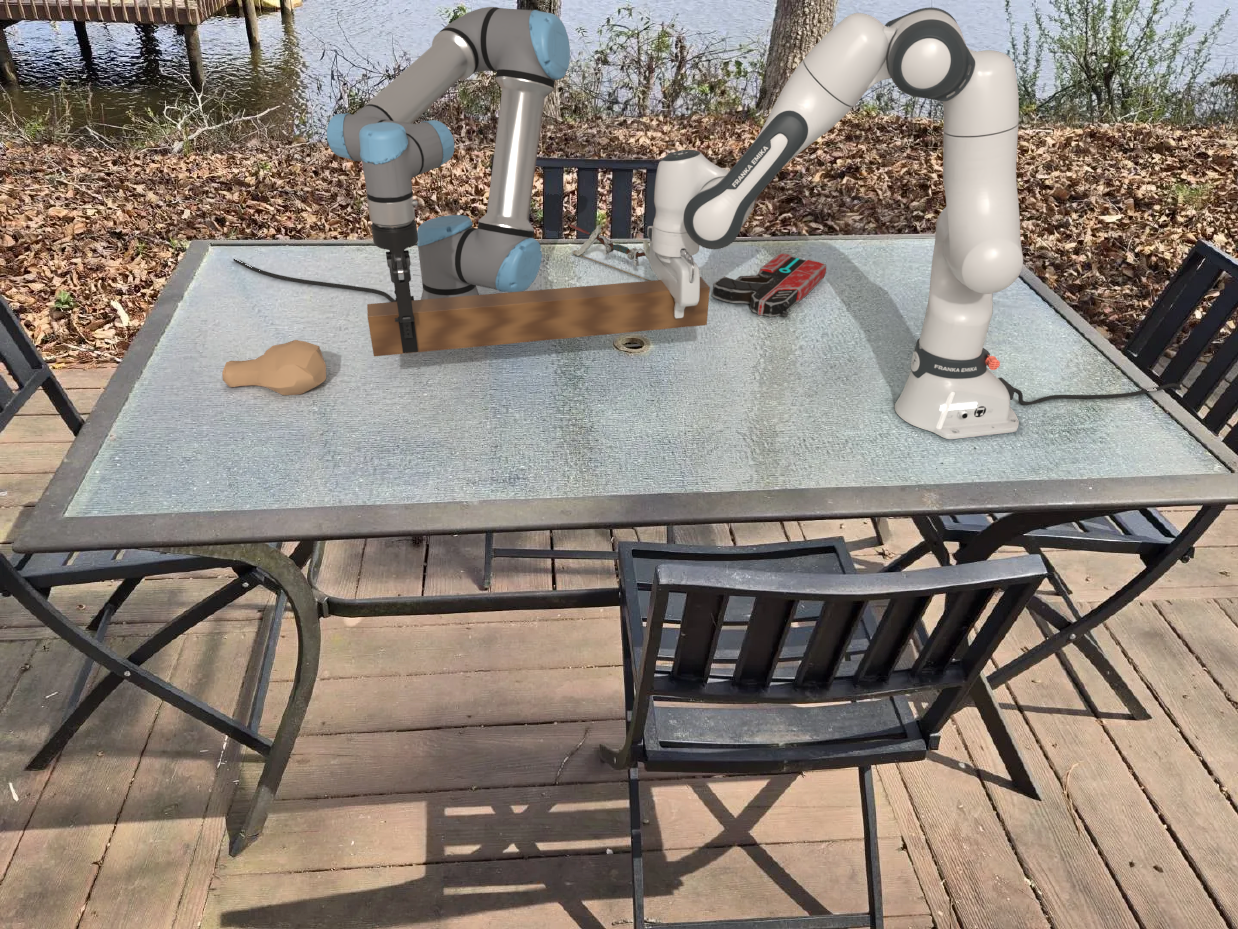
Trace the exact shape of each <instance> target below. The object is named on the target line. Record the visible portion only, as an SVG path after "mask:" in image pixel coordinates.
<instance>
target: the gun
mask: <svg viewBox="0 0 1238 929" xmlns="http://www.w3.org/2000/svg"><path fill="white" fill-rule="evenodd" d="M826 273H827V264H826V263H823V262H820V261H816V260H812V259H802V258H799V257H795V256H793V255H792V254H791V253H784V252H780V253H778V254H777V255H775V256H774V257H773V258H771V259H770V260H768V261H767V262H766V263H765V264H763V265H762V266H761V267H760V269H759V271H758V273H757V274H756V275H753V274H752V275H751V274H750V275H740V276H738V277H737V278H735V279H734V278H731V277H727V276H722V277H720V279H717V281H715V282H713V283H712V291H711V297H713V298H714V299H716V300H719V301H723V302H727V303H730V304H750V305H749V308H750V310H751V312H753V313H755V314H757V315H758V316H760V317H761V316H765V317H770V318H771V317H777V316H780V317H784V318H787V317H788V315H789V311H788V310H790V309H791V308H792V307H793V306H794V305H795V304H798V303H799V302H801V301H802V300H803V299H804V298H805V297H807V296H808V295H809V294H810V293H811V292H812V291H813V290H814V289H815V287H817V285H818V284H820V283H821V282H822V280H823V279H824V278H825V276H826Z"/></svg>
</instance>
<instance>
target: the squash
mask: <svg viewBox="0 0 1238 929" xmlns="http://www.w3.org/2000/svg"><path fill="white" fill-rule="evenodd" d="M325 361H326V360H325V358H324V356H323V352H322V350H321V347H320V346H319V345H317V344H314V343H311V342H308V341H305V340H299V339H293V340H291V341H288V342H285V343H280V344H275V345H271V347H269V348H268V349H267V350H266V351H265V352H264V354H262V355H260V356H258V357H257V358H254V359H245V360H228V361H226V362H225V364H224V367H223V369H222V373H221V375H222V381H223V383H225V384H226V385H227V387H229V388H236V387H247V386H258V387H264V388H265V389H266V388H267V389H269V390H270V391H272V392H275V393H277V394H280V395H282V396H292V395H293V396H296V395H303V394H304V393H307V392H308V391H311V390H312V389H314V388H316V387H318V386H320V385H321V384H322V383H323V382H325V381H326V380H327V365H326V362H325Z"/></svg>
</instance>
